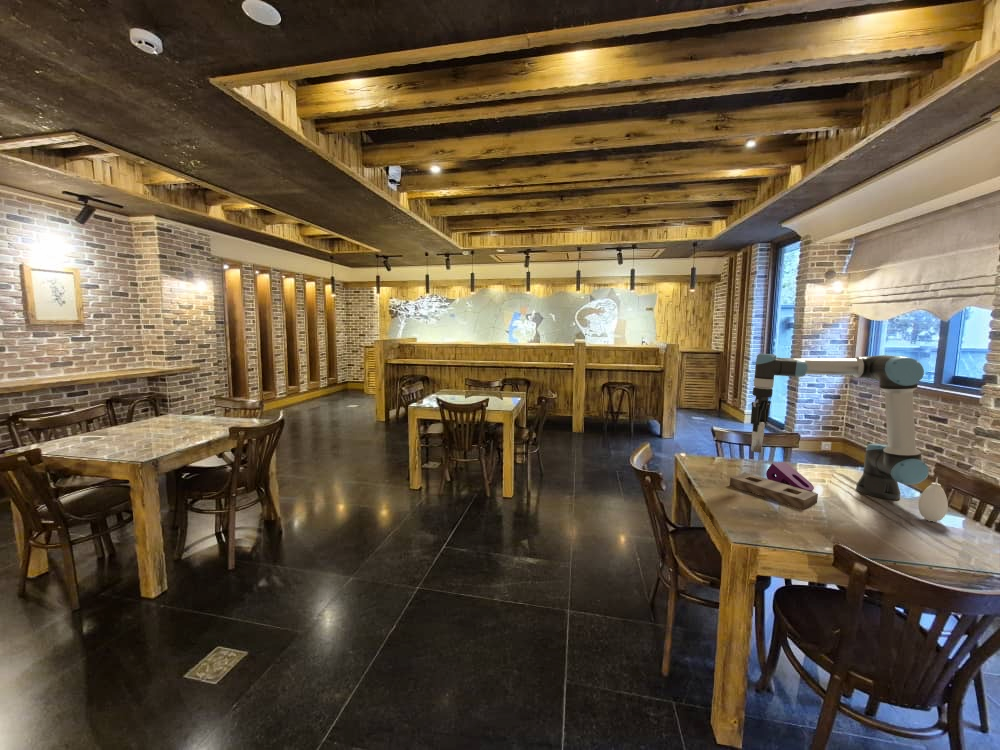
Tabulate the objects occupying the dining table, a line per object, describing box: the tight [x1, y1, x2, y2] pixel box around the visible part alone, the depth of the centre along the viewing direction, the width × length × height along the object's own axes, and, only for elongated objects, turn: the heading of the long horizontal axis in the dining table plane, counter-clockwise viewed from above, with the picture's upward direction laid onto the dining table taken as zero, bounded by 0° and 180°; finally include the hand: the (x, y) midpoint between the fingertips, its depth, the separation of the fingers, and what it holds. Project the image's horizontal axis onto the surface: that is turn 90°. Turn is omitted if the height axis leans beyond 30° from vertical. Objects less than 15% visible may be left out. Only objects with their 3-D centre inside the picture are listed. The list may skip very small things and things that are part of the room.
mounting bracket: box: [765, 461, 815, 492], centre depth 197 cm, size 9×8×18 cm
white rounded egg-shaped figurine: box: [918, 476, 949, 523], centre depth 162 cm, size 8×8×18 cm
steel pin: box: [750, 421, 765, 454], centre depth 190 cm, size 4×4×14 cm
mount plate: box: [729, 472, 819, 510], centre depth 186 cm, size 30×14×4 cm, turn 34°
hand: (757, 437), depth 190 cm, fingers closed on steel pin, 4 cm apart
